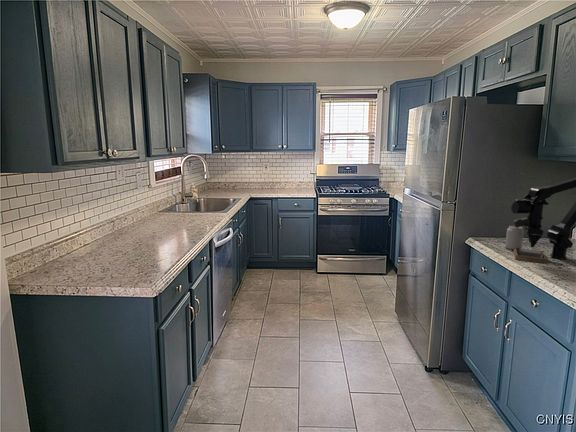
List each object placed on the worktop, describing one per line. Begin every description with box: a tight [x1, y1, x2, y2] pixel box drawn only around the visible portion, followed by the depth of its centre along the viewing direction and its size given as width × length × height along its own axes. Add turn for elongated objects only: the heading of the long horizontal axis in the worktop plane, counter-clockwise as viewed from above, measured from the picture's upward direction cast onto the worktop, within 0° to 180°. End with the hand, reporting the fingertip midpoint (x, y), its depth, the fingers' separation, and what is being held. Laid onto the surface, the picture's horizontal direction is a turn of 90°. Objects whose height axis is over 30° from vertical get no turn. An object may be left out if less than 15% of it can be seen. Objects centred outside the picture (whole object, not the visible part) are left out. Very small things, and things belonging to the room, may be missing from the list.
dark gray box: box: [518, 248, 542, 258], centre depth 182 cm, size 5×9×4 cm, turn 56°
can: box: [504, 225, 524, 251], centre depth 196 cm, size 8×8×12 cm
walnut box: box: [513, 248, 548, 264], centre depth 182 cm, size 15×13×2 cm
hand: (531, 244), depth 181 cm, fingers open, 9 cm apart
